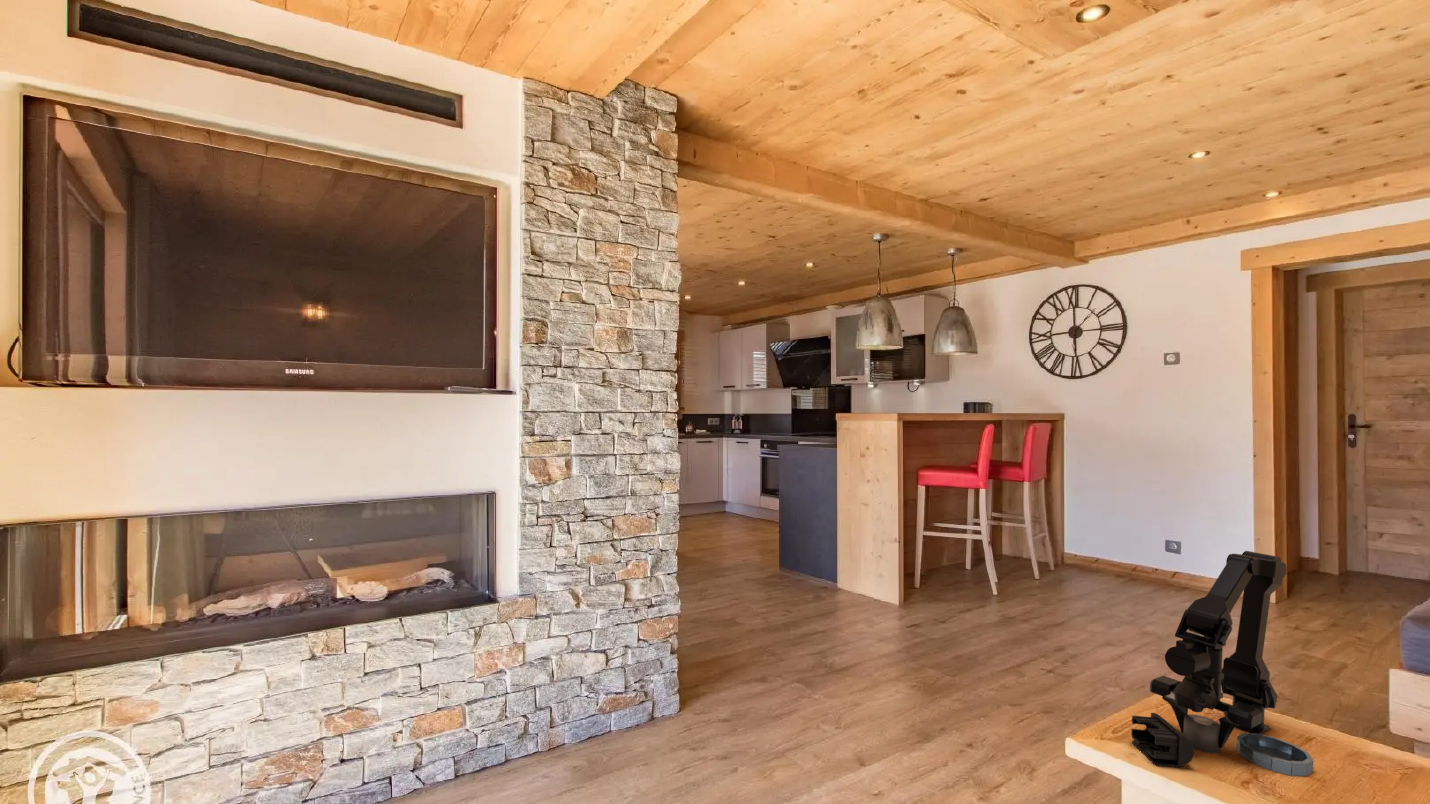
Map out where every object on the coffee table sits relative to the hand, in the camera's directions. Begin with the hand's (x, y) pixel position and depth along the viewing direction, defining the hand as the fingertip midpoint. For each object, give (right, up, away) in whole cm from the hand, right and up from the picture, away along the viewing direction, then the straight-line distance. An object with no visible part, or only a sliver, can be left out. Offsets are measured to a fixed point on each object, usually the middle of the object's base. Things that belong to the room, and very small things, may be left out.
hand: (1201, 740), depth 139 cm
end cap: (-12, -1, -5) cm, 13 cm away
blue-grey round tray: (+11, -2, -5) cm, 12 cm away
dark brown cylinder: (0, -1, 0) cm, 1 cm away
